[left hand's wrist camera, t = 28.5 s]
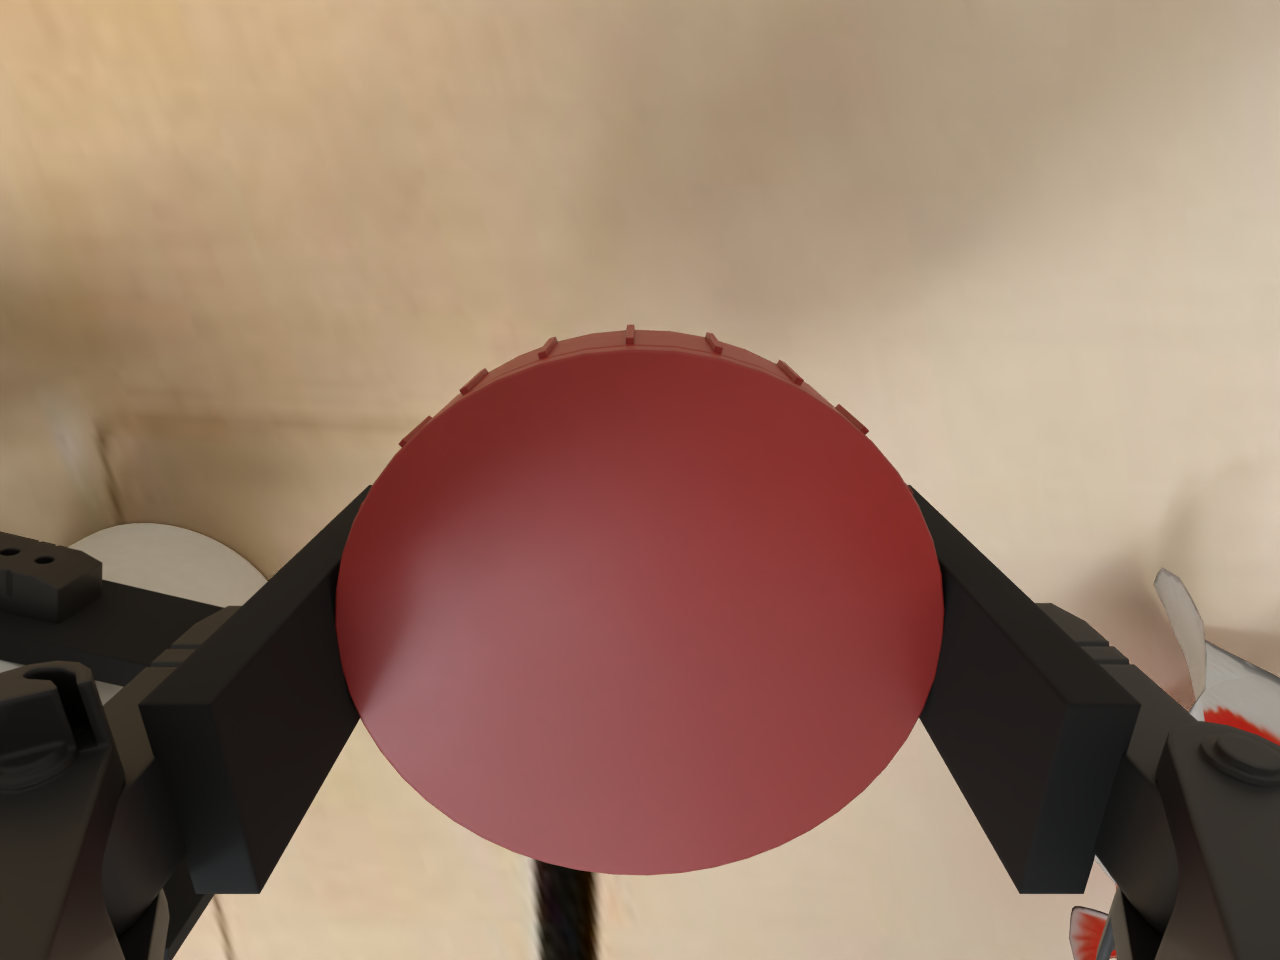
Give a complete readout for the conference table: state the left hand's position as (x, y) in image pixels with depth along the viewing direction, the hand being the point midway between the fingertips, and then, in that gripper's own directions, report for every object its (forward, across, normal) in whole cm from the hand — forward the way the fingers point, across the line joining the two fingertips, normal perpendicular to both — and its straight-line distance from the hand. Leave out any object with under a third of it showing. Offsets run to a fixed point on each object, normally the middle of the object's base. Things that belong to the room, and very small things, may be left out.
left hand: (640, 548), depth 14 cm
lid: (-3, 0, 0) cm, 3 cm away
